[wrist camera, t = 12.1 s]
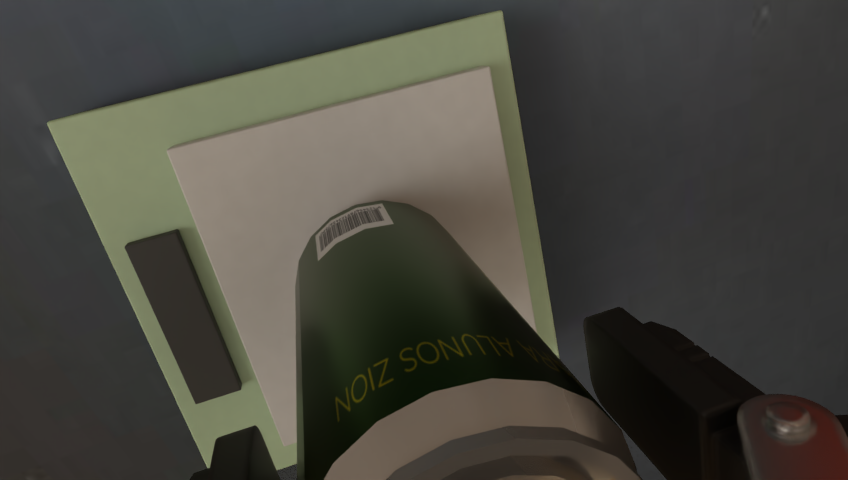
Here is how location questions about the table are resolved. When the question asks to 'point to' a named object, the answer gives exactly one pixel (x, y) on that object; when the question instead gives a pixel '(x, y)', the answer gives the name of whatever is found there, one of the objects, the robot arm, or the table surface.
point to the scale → (299, 201)
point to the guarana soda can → (430, 366)
